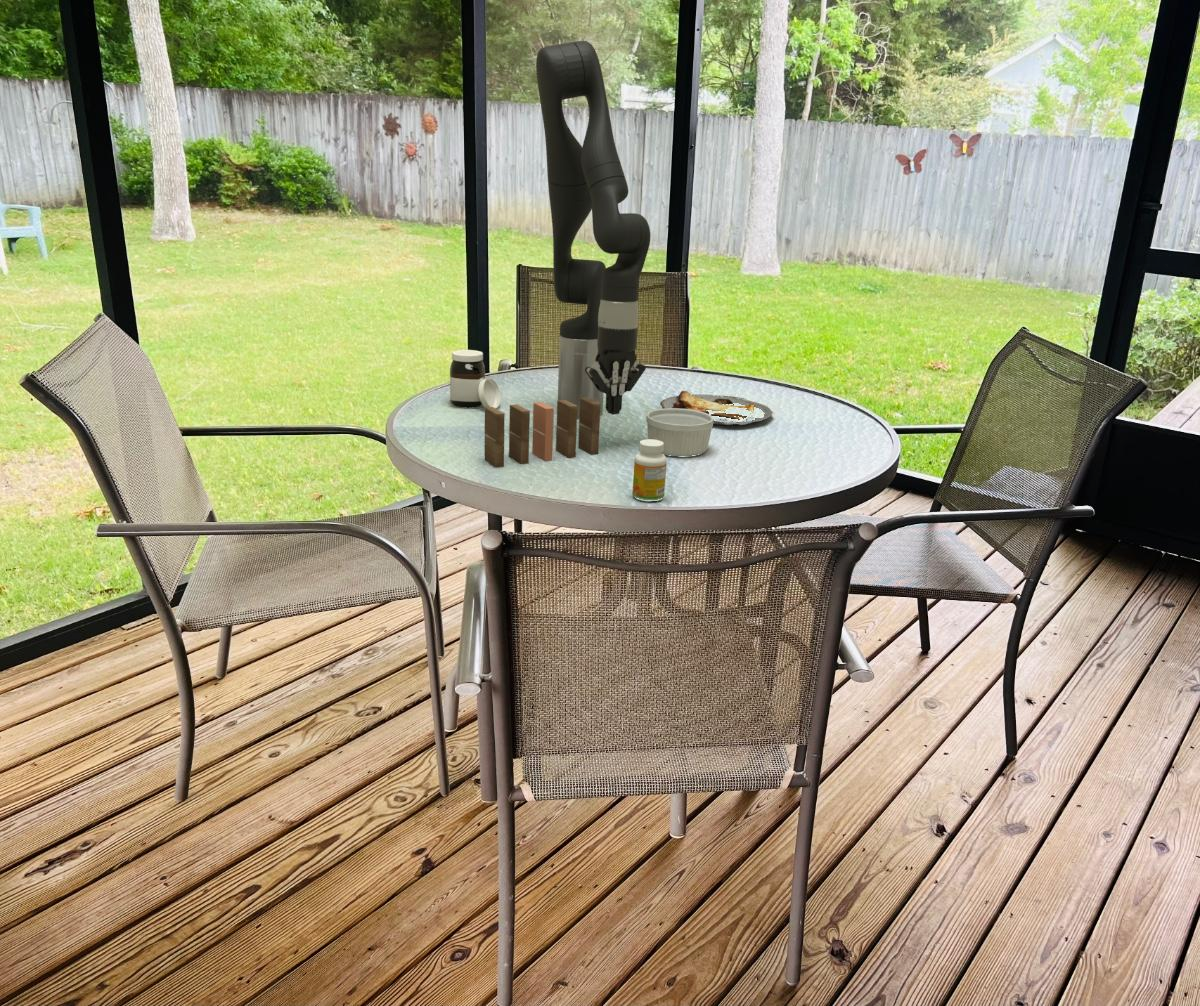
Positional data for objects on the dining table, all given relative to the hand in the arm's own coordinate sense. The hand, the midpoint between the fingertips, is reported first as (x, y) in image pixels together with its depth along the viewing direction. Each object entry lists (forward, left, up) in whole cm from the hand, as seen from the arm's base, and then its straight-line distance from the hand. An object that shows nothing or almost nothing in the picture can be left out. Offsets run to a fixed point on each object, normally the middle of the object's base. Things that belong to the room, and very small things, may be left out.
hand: (613, 413), depth 184 cm
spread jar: (+11, -40, -7) cm, 42 cm away
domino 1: (+25, 0, -7) cm, 26 cm away
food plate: (-36, -13, -8) cm, 39 cm away
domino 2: (+20, 0, -7) cm, 22 cm away
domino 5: (+5, 0, -7) cm, 9 cm away
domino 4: (+10, 0, -7) cm, 13 cm away
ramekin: (-12, +6, -7) cm, 15 cm away
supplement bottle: (+9, +27, -7) cm, 29 cm away
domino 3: (+15, 0, -7) cm, 17 cm away
